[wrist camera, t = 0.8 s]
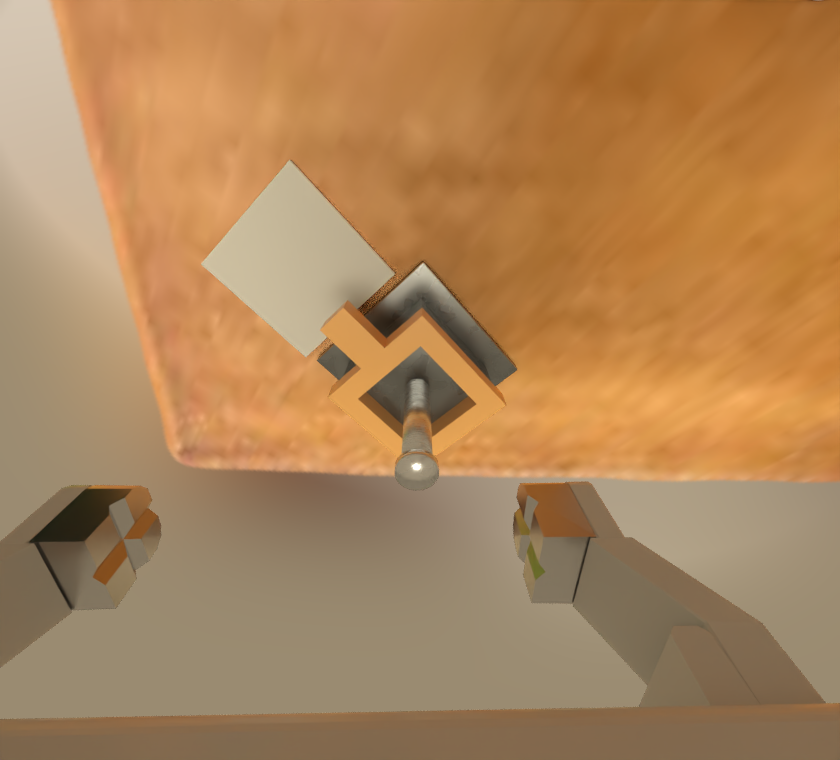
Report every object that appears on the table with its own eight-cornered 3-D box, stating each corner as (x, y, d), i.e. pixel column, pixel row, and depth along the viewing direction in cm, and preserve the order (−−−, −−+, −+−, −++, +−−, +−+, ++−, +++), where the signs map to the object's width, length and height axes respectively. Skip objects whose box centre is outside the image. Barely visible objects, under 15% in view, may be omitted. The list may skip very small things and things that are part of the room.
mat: (291, 159, 38) (289, 159, 38) (395, 272, 43) (395, 274, 42) (203, 263, 42) (200, 264, 42) (306, 355, 47) (305, 357, 47)
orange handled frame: (383, 265, 36) (381, 271, 33) (501, 393, 41) (506, 405, 39) (293, 351, 39) (286, 361, 37) (413, 457, 45) (413, 472, 43)
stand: (423, 260, 42) (425, 324, 25) (515, 365, 48) (571, 479, 30) (319, 356, 47) (259, 467, 29) (413, 441, 52) (410, 578, 35)
